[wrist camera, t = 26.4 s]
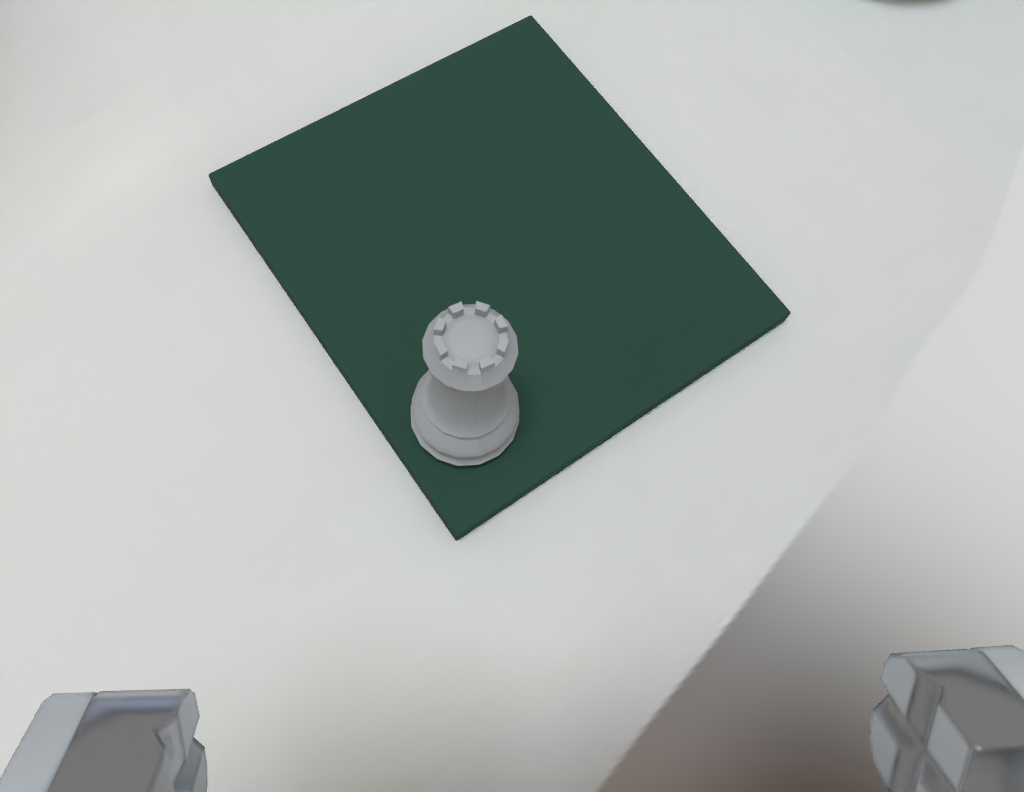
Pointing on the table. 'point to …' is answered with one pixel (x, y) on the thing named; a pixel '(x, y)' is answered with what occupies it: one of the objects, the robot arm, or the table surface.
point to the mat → (498, 255)
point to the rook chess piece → (467, 386)
